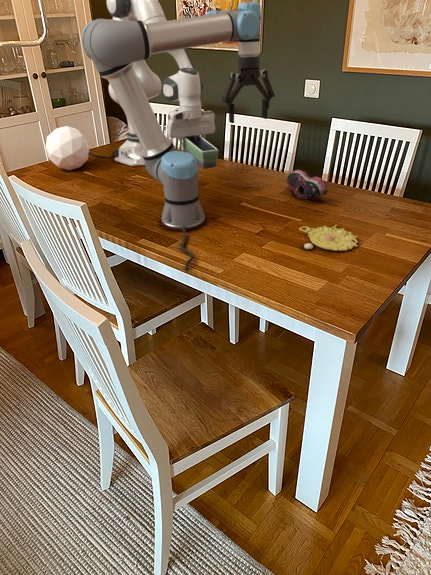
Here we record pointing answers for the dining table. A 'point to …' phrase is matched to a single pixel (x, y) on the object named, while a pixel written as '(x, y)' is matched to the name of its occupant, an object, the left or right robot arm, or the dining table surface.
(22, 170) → the dining table surface
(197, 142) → the planter
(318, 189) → the athletic shoe
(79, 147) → the sphere
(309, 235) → the decorative object
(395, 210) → the dining table surface
